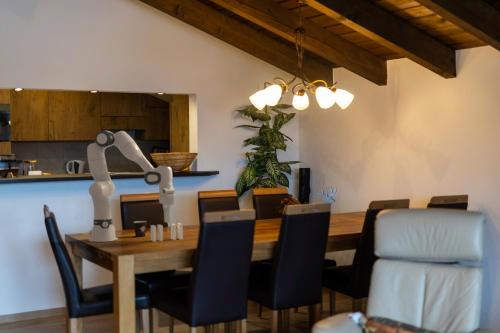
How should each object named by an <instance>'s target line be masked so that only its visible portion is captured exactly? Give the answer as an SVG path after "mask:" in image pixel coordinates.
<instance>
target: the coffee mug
mask: <svg viewBox="0 0 500 333" xmlns="http://www.w3.org/2000/svg"><path fill="white" fill-rule="evenodd" d="M147 225H149V227H148V228H147ZM133 228H134V234H135V238H145V237H146V232H147V231H149V230H150V229H151V223H150V222H147V220H144V221H143V220H136V221H133Z"/></svg>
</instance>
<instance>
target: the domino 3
mask: <svg viewBox="0 0 500 333" xmlns="http://www.w3.org/2000/svg"><path fill="white" fill-rule="evenodd" d="M166 209H167V205H166V207H164V211H163V216H164V217H163V222H164V223H170V221H171V220H170V218H171V217H170V212H167V210H166Z"/></svg>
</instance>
